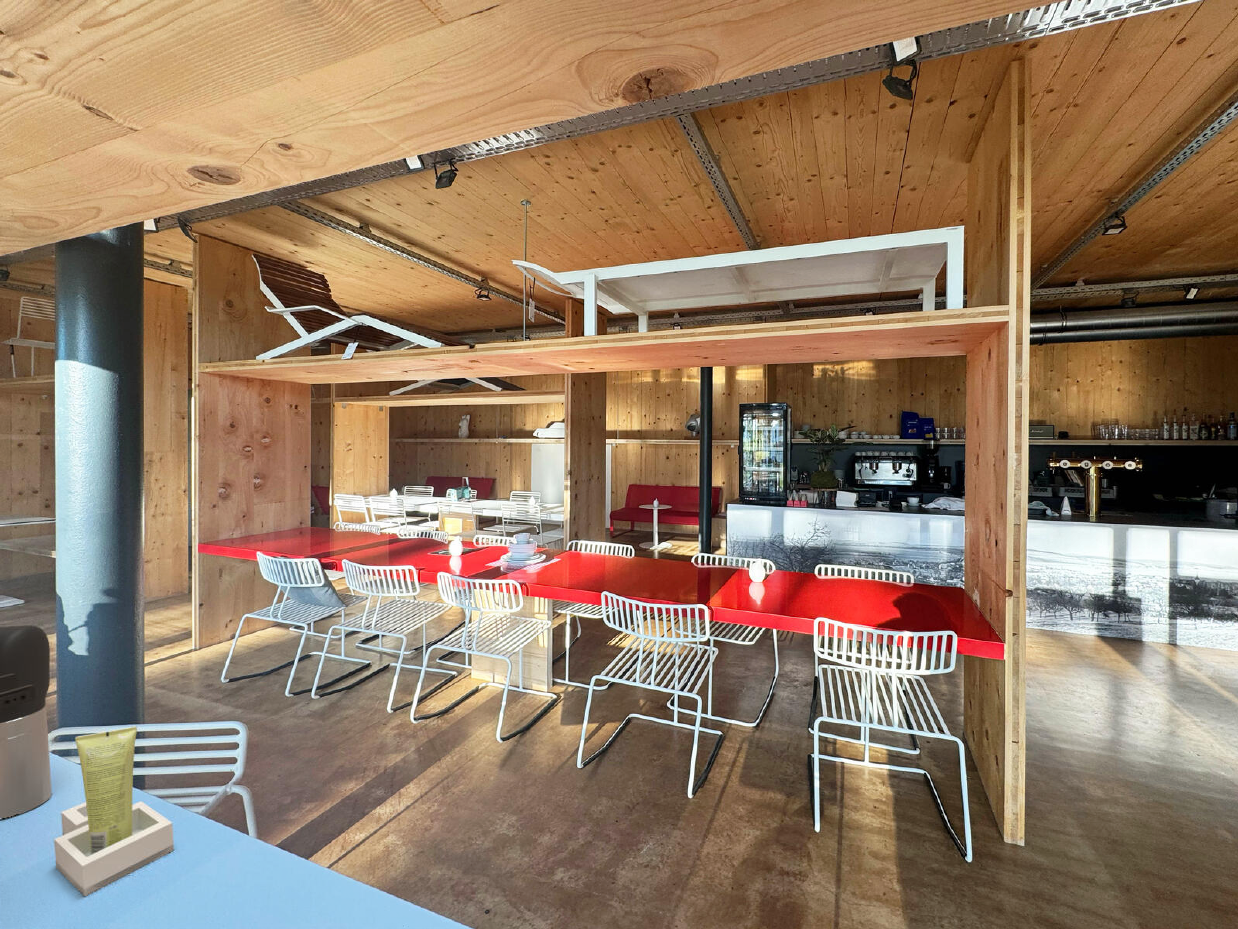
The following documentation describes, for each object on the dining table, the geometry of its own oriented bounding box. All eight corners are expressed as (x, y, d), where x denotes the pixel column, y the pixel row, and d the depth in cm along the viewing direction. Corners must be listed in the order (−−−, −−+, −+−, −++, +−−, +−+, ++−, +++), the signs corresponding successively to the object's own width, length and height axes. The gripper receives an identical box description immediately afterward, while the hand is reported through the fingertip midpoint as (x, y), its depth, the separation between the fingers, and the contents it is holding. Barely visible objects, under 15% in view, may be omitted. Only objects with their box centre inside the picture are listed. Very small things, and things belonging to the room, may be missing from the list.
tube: (126, 837, 96) (118, 720, 95) (144, 844, 94) (137, 725, 93) (83, 860, 90) (74, 737, 90) (102, 869, 88) (93, 742, 88)
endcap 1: (62, 838, 98) (61, 812, 97) (115, 815, 103) (114, 790, 103) (78, 852, 94) (76, 825, 94) (131, 827, 100) (130, 801, 100)
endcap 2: (56, 867, 90) (54, 839, 90) (142, 827, 100) (140, 801, 100) (84, 896, 84) (82, 866, 84) (173, 850, 94) (172, 822, 93)
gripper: (-149, 720, 69) (38, 670, 83) (-167, 695, 77) (8, 652, 90) (-141, 781, 70) (43, 721, 83) (-160, 750, 77) (13, 699, 91)
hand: (25, 685), depth 87 cm, fingers open, 8 cm apart
